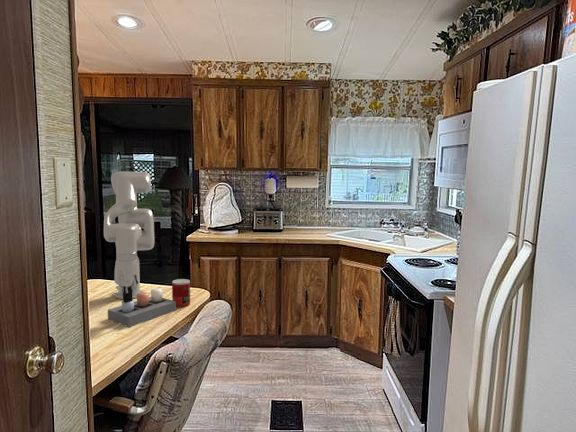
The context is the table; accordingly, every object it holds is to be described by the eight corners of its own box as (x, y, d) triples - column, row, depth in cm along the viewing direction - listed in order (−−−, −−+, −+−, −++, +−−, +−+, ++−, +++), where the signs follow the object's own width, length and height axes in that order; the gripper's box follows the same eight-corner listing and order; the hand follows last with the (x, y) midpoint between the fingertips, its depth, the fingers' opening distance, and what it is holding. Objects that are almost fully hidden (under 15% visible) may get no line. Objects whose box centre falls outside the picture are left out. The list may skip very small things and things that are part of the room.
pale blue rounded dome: (119, 312, 154) (119, 301, 154) (129, 309, 158) (129, 298, 158) (126, 315, 152) (126, 304, 151) (136, 311, 155) (136, 301, 155)
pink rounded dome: (134, 304, 160) (134, 294, 159) (144, 301, 164) (144, 291, 163) (141, 306, 157) (141, 296, 157) (151, 303, 161) (150, 293, 161)
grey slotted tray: (107, 319, 155) (107, 309, 155) (155, 304, 174) (155, 295, 174) (128, 327, 148) (128, 317, 147) (176, 310, 167) (175, 301, 166)
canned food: (185, 308, 170) (185, 284, 169) (169, 306, 171) (168, 282, 170) (193, 302, 177) (193, 279, 176) (177, 301, 179) (177, 278, 178)
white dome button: (149, 300, 166) (148, 290, 165) (157, 297, 170) (157, 287, 169) (155, 302, 163) (155, 292, 163) (164, 299, 167) (164, 289, 167)
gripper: (107, 256, 153) (108, 300, 155) (129, 261, 145) (130, 307, 147) (123, 253, 160) (125, 295, 161) (146, 257, 151) (147, 302, 153)
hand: (127, 301), depth 154 cm, fingers closed
